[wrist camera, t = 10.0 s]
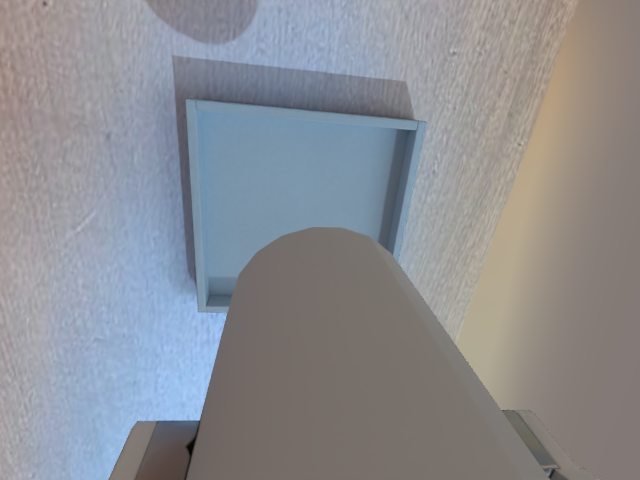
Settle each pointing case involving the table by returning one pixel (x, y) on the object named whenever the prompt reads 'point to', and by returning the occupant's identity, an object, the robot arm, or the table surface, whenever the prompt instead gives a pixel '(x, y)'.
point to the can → (345, 377)
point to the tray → (291, 182)
